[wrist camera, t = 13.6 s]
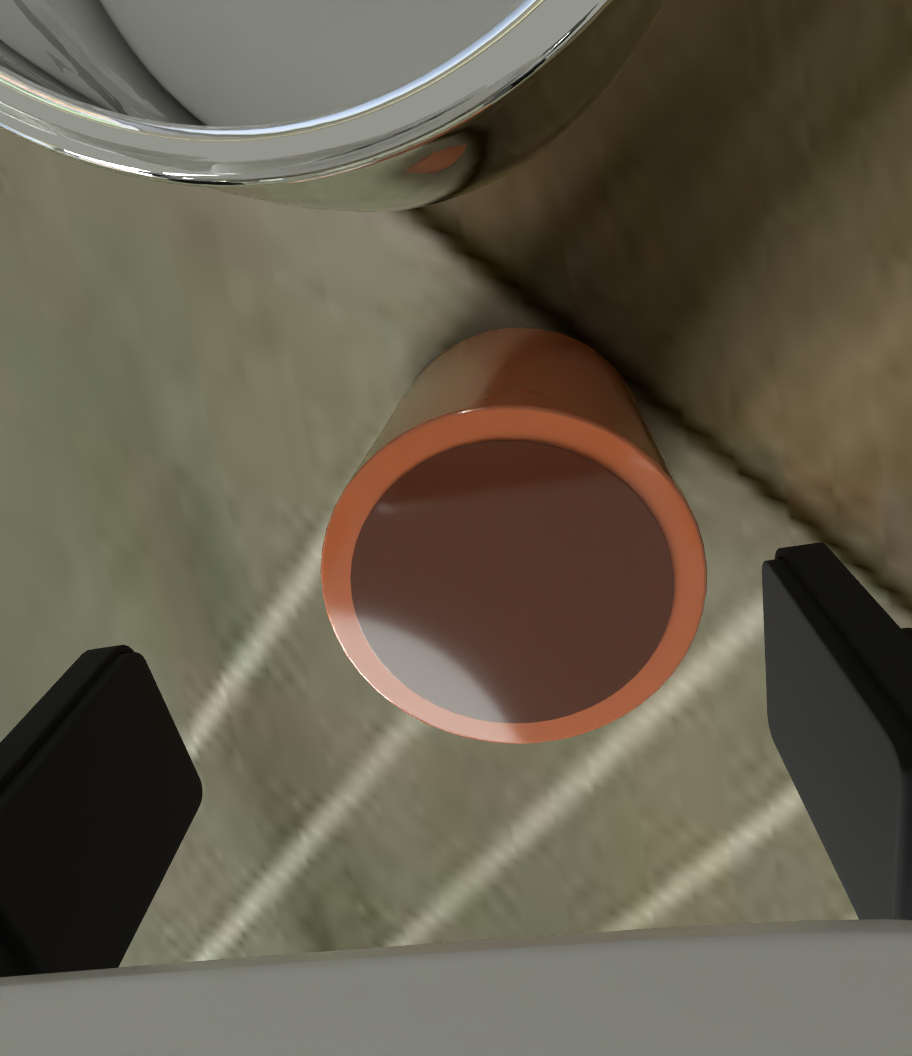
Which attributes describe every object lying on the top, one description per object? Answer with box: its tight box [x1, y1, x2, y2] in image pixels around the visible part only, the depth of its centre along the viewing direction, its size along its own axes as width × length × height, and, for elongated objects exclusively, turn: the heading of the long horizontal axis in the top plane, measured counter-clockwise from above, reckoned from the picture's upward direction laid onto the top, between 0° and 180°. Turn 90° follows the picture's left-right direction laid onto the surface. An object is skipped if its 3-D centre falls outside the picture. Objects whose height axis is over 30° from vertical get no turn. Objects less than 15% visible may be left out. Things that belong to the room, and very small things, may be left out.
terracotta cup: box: [321, 327, 707, 744], centre depth 17 cm, size 7×7×8 cm
